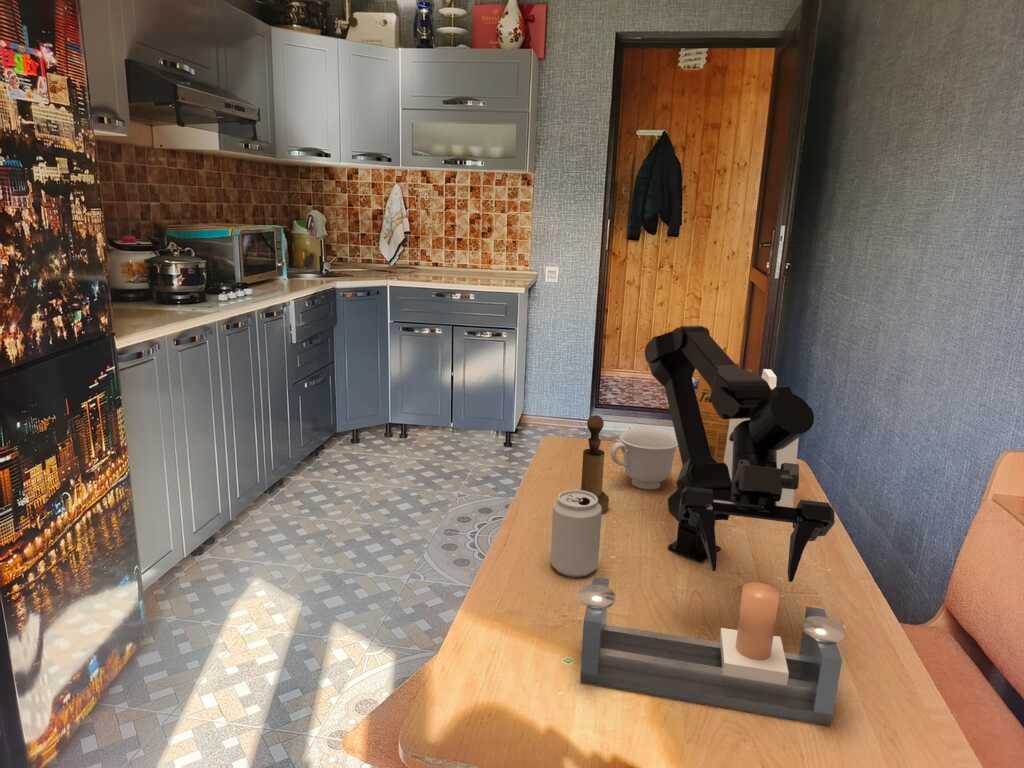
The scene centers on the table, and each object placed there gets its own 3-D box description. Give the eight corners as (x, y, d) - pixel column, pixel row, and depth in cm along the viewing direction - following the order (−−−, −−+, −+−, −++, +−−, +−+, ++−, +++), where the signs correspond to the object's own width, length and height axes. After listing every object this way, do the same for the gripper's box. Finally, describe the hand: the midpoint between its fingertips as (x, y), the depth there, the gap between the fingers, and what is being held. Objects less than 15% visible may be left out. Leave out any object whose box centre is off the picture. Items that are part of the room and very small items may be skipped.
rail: (570, 680, 84) (573, 614, 81) (581, 632, 93) (584, 571, 91) (842, 728, 77) (855, 657, 75) (824, 670, 87) (835, 606, 84)
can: (595, 582, 105) (600, 509, 102) (546, 576, 107) (549, 504, 104) (599, 558, 112) (604, 489, 109) (553, 552, 114) (556, 484, 111)
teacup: (593, 479, 144) (595, 433, 141) (652, 469, 150) (656, 425, 147) (626, 502, 133) (629, 453, 131) (688, 490, 139) (693, 443, 137)
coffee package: (687, 452, 161) (696, 359, 155) (744, 461, 156) (755, 365, 151) (681, 467, 152) (690, 369, 146) (740, 476, 147) (752, 375, 142)
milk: (791, 520, 128) (810, 383, 121) (726, 514, 130) (741, 378, 123) (779, 494, 139) (796, 367, 132) (719, 488, 141) (733, 363, 134)
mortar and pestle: (611, 503, 133) (617, 413, 128) (604, 517, 127) (610, 423, 122) (577, 498, 135) (582, 409, 130) (568, 511, 129) (573, 419, 124)
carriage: (722, 674, 80) (731, 603, 78) (719, 638, 87) (727, 572, 85) (787, 685, 79) (797, 613, 77) (778, 648, 86) (788, 580, 83)
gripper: (688, 428, 90) (679, 546, 83) (843, 444, 86) (849, 569, 79) (682, 463, 100) (674, 571, 92) (822, 478, 96) (825, 593, 88)
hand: (751, 575), depth 88 cm, fingers open, 9 cm apart
